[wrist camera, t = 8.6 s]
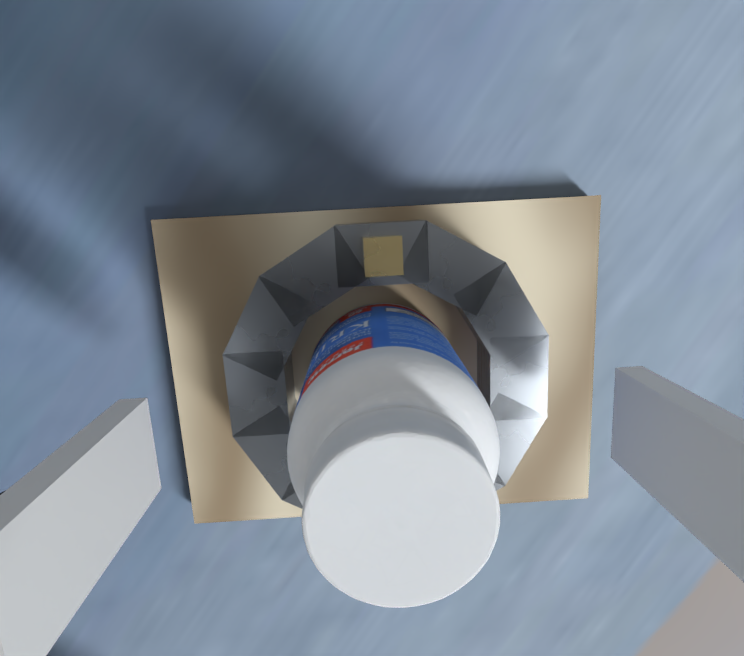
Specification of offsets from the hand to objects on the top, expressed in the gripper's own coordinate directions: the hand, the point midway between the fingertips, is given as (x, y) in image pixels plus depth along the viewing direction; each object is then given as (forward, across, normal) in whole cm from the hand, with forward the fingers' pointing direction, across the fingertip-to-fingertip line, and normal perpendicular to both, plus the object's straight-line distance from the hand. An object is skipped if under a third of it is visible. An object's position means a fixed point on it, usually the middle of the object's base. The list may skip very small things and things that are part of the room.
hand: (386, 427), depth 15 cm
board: (+6, 0, 0) cm, 6 cm away
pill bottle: (+5, 0, 0) cm, 6 cm away
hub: (+6, 0, 0) cm, 6 cm away
